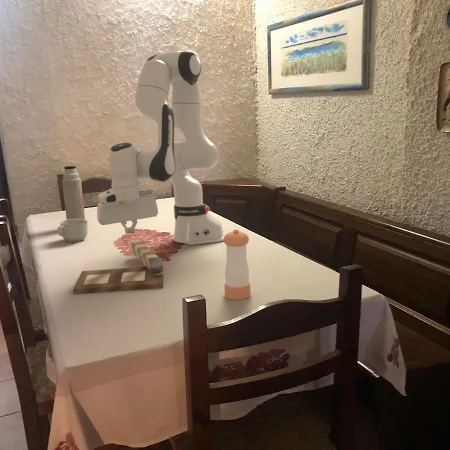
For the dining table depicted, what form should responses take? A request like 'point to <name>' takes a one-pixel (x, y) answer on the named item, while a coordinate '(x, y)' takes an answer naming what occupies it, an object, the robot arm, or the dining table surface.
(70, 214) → the thermos bottle
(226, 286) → the pepper shaker
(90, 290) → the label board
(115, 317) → the dining table surface
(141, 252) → the swing bar
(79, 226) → the teacup
